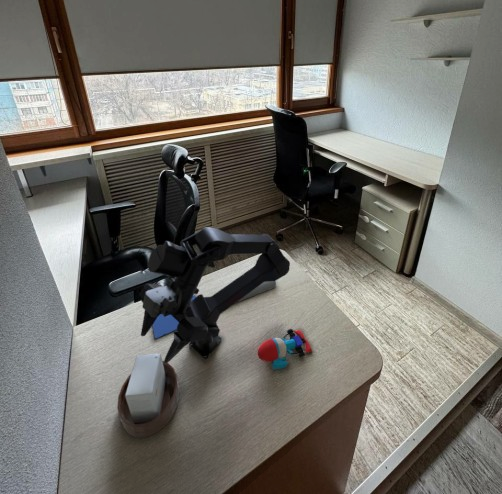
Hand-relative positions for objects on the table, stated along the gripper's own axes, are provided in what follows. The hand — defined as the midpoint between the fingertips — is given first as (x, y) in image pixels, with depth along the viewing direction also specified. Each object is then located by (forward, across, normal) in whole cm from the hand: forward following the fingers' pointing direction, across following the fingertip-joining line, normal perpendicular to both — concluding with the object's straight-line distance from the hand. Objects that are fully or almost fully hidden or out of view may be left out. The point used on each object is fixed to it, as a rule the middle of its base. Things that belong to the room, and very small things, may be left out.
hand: (153, 348), depth 59 cm
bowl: (+13, 0, +7) cm, 15 cm away
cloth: (+1, -13, +19) cm, 23 cm away
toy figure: (-7, +18, +28) cm, 34 cm away
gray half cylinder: (-13, -1, +35) cm, 37 cm away
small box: (+12, +1, +7) cm, 14 cm away
